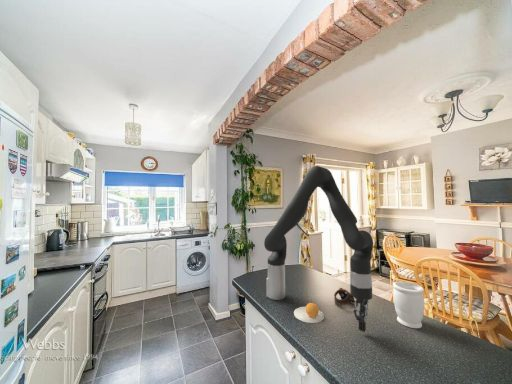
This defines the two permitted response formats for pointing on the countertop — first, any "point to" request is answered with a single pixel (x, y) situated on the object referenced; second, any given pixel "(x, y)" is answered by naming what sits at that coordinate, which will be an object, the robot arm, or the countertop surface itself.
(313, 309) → the ball
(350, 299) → the pottery mug
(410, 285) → the jar
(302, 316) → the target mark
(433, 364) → the countertop surface
